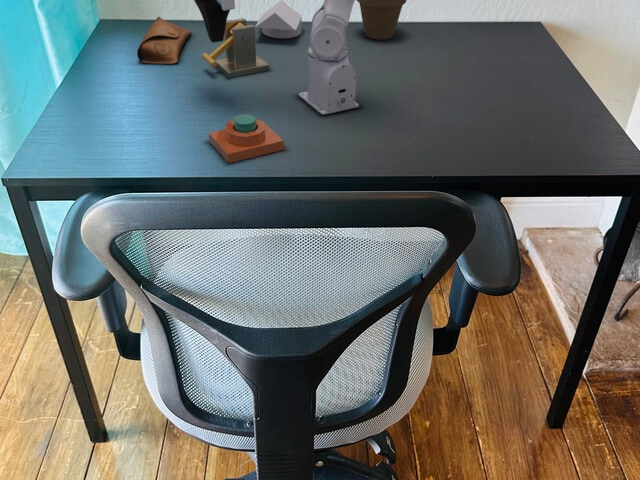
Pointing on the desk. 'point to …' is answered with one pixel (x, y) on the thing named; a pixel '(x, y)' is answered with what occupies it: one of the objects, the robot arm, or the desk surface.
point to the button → (245, 123)
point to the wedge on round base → (280, 21)
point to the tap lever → (220, 49)
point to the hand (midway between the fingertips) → (216, 40)
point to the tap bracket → (241, 51)
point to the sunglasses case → (162, 43)
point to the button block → (245, 142)
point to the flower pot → (380, 17)
